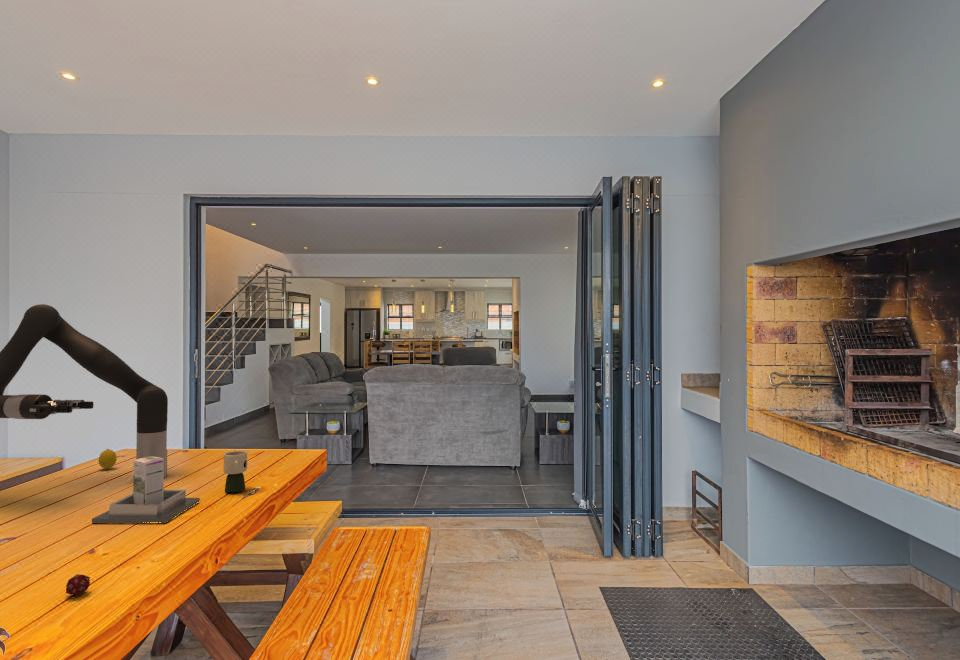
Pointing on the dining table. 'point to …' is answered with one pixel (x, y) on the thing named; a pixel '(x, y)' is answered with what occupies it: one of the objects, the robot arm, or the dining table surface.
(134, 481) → the syrup box
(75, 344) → the robot arm
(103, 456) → the lemon
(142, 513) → the collar stand
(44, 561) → the dining table surface
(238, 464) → the beige trophy cup
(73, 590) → the dice
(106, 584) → the dining table surface
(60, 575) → the dining table surface
